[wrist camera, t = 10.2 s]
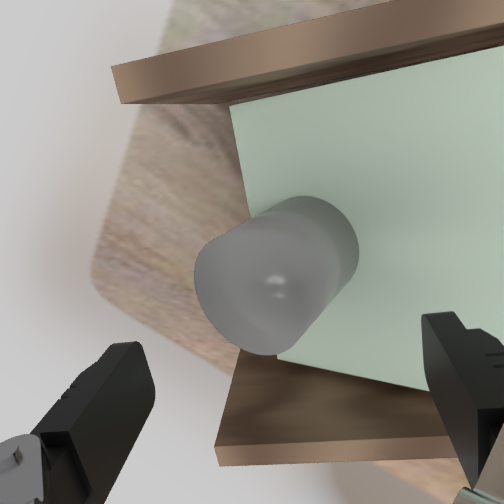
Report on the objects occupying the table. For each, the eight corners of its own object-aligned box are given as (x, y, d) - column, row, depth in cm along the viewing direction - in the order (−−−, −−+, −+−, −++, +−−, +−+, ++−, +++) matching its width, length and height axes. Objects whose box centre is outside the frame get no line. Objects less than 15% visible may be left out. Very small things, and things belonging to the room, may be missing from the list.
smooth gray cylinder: (352, 192, 17) (293, 235, 13) (364, 297, 19) (314, 366, 15) (256, 198, 20) (181, 235, 16) (273, 289, 22) (209, 344, 17)
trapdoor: (1024, -64, 9) (1180, -103, 7) (851, 422, 14) (913, 494, 11) (262, 100, 21) (229, 106, 19) (300, 332, 26) (277, 359, 23)
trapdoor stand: (504, 22, 24) (773, -88, 10) (501, 287, 30) (673, 449, 16) (209, 85, 28) (110, 66, 14) (256, 313, 33) (219, 466, 19)
